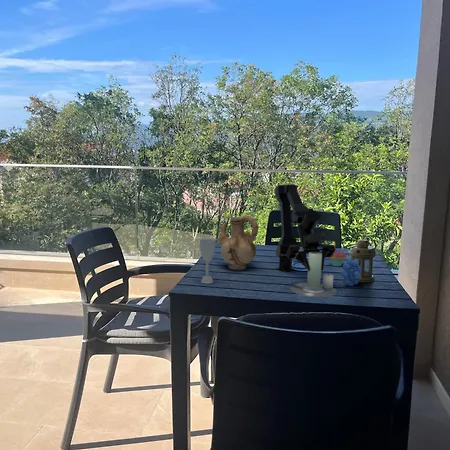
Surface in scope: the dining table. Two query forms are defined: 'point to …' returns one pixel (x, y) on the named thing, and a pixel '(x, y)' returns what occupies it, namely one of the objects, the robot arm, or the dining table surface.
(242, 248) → the ceramic vessel
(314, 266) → the pillar candle
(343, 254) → the cupcake
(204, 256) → the chalice
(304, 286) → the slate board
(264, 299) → the dining table surface
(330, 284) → the ivory candle
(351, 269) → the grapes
